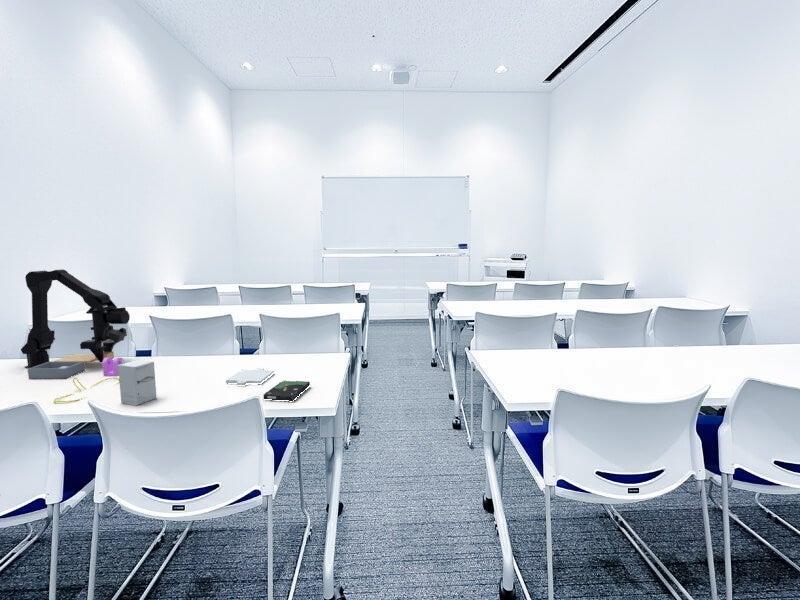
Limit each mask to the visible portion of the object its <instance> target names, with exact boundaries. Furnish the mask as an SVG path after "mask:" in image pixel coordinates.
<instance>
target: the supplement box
mask: <svg viewBox="0 0 800 600" xmlns="http://www.w3.org/2000/svg"><path fill="white" fill-rule="evenodd" d="M118 370H119V376H118V378H119V379H118V383H119V382H120V383H119V391H120V402H121V404H126V405H133V406H135V407H137V406H138V405H141V404H143V403H146V402H149V401H152V400H155V399H157V386H156V373H155V370H156V369H155V361H153V360H145V359H136V360H133V361H128V362H123V364H121V365H118Z"/></svg>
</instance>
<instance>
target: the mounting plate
mask: <svg viewBox="0 0 800 600" xmlns="http://www.w3.org/2000/svg"><path fill="white" fill-rule="evenodd" d="M273 372H275V370H273V369H272V370H269V369H268V370H266V369H265V368H262V367H261V368H260V367H257V368H256V369H241V370H240V371H238V372H236V373H235V374H233V375H231V376H230V377H228V378H227V379H225V384H226V383H237V384H236V386H237V385H245V384H246V383H261V382H262V381H263V380H265V379H266V378H267V377H268V376H270V375H271V374H272V373H273Z"/></svg>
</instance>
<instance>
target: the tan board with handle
mask: <svg viewBox="0 0 800 600" xmlns="http://www.w3.org/2000/svg"><path fill="white" fill-rule="evenodd" d="M104 358H112V360H114V359H115V355H114V351H112V352H104V351H103V359H104ZM96 361H97V362H99V360H98V359H97V358H96V356H95V355H94V354H93V353H92V354H91V353H89V354H87V353H85V354H81V353H79V354H77V353H75V354H70V355H68V356H65V357H62V358H59V359H56V360H53V362H84V364H90V363H91V364H92V363H94V362H96Z"/></svg>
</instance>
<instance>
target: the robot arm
mask: <svg viewBox="0 0 800 600" xmlns="http://www.w3.org/2000/svg"><path fill="white" fill-rule="evenodd" d="M53 281H57V282H59V283H60V284H62V285H63V286H64V287H66V288H68V289H69V290H71V291H73V292H74V293H75V294H76V295H78V296H79V297H81V298H82V299H83V303H85V305H87V306H88V307H89V309H88V310H87V311H86V312H85V314H89V315H90V314H91V317H92V318H91V319H92V326H91V327H90V330H91V331H93V336H92V337H91V339H87V340H84V341H82V342H80V344H79V345H80V346H79V347H80V350H90V351H91V353H92V354H94V355H95V356H96V358H97V359H98V360H99V361H98V362H99V363H102V362H103V352H113V350H114V347H115V345H116V344H118V343H120V342H121V341H124V340H125V337H126V336H128V334H127V332H128V331H127V328H124V327H121V328H119V329H115V328H114V326H113V325H126V324H128V323H129V322H130V318H131V317H130V313H129V311H128V310H126V307H125V306H122V307H117V305H116V304H115V303H114V302H113V300H111V297H110V295H109V294H108V293H106V292H103V291H101V290H98V289H95V288H92V287H90V286H88V284H86V283H84V282H83V281H81V280H80V279H78V278H77V277H75V276H74V275H72V274H71V273H69V272H68V270H66V269H64V268H63V269H55V270H54V269H53V270H49V271H48V270H34V271H32V270H31V271H29V272H28V273H26V274H25V284H26V287H27V289H28V290H29V291H30V292H31V315H32V316H31V317H32V319H31V320H32V322H31V323H32V327H31V329H30V331H29V332H28V335H27V340H26V343H25V344H24V345H23V346H22V348H20V351H21V353H22V355H26V361H27V362H26V363H27V365H26V366H24V369H29V368H32V367H35V366H38V365H41V364H44V363H47V362H50V356H49V352H48V350H51V348H52V344H54V341H55V340H56V337H55V330H54V329H53V330H51V329H50V327H49V319H48V317H49V313H48V292H49V290H50V289H51V287H52V283H53ZM110 324H111V325H110Z"/></svg>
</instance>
